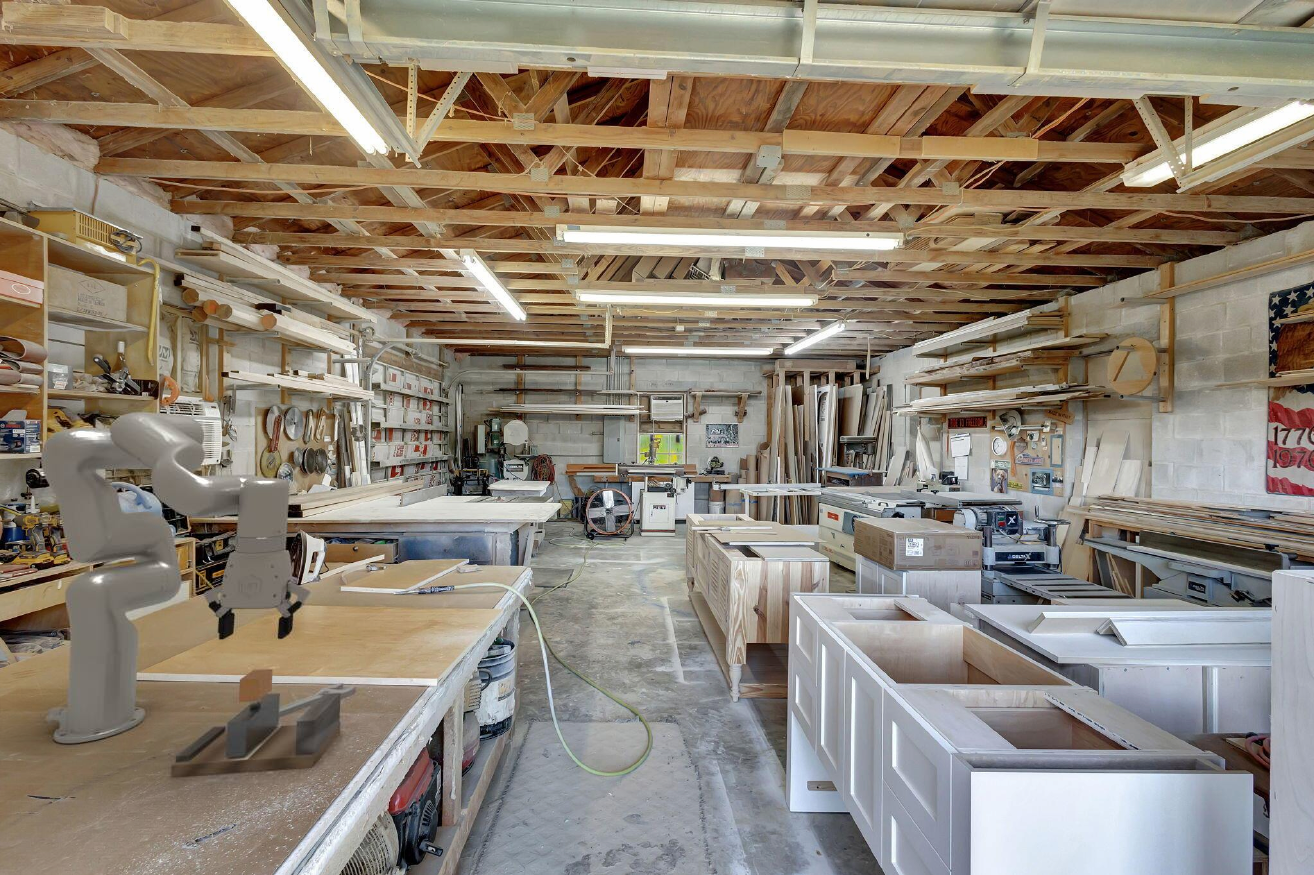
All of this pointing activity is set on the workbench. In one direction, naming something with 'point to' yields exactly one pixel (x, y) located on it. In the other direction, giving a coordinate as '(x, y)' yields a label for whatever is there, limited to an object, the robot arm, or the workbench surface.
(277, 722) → the sliding jaw
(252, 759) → the bench vise
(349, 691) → the adjustable wrench
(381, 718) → the workbench surface
